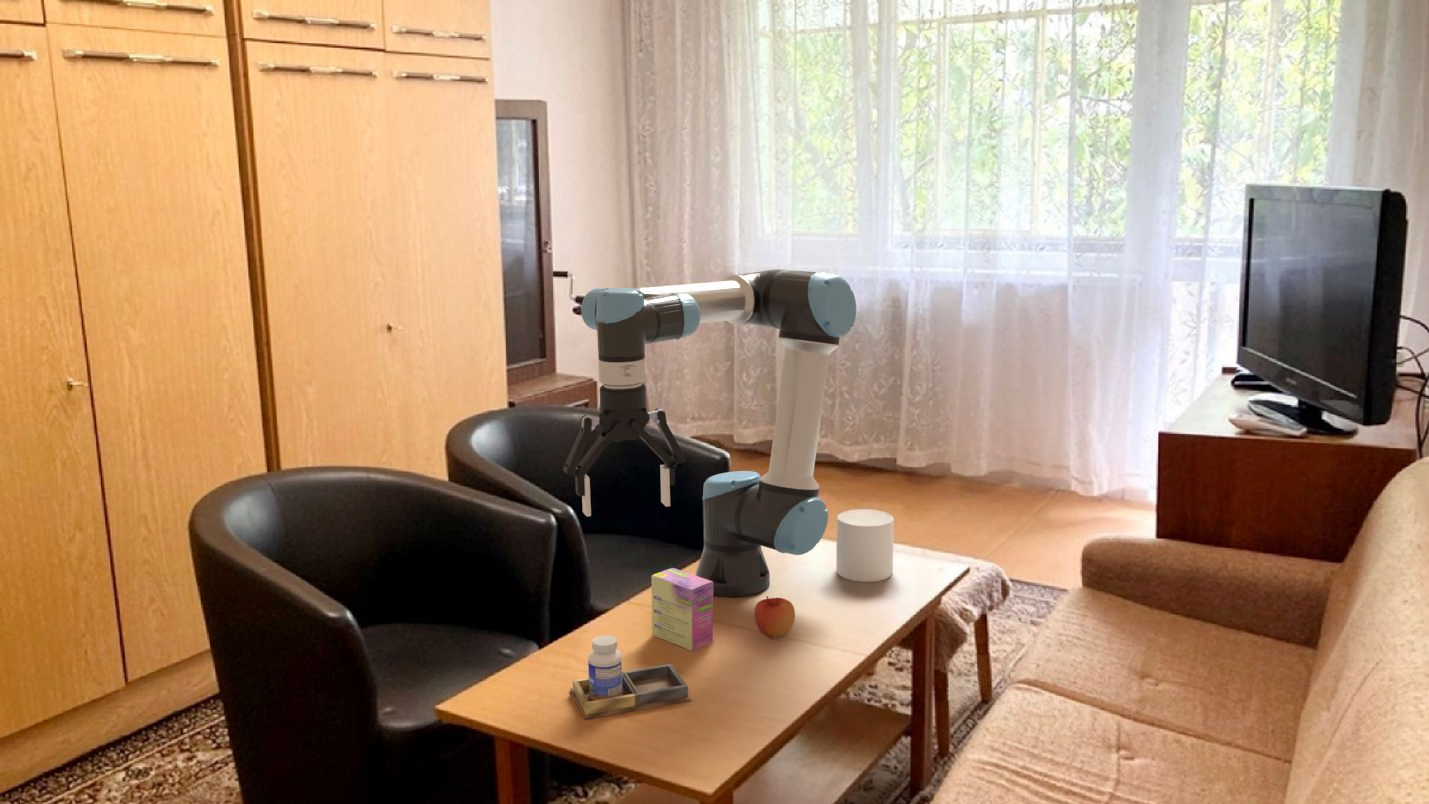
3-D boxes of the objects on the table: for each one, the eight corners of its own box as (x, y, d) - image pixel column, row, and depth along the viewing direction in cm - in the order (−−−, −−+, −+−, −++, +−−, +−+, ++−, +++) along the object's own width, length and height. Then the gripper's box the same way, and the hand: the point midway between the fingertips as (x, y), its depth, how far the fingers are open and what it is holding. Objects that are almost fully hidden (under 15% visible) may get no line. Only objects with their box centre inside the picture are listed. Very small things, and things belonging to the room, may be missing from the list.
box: (714, 642, 206) (713, 580, 204) (692, 652, 202) (691, 589, 200) (673, 626, 213) (672, 566, 211) (651, 636, 209) (650, 575, 207)
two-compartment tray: (584, 719, 179) (584, 706, 178) (570, 691, 188) (569, 678, 188) (691, 700, 184) (691, 688, 184) (671, 673, 194) (671, 661, 193)
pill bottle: (590, 689, 188) (588, 633, 186) (623, 687, 188) (621, 632, 186) (588, 704, 183) (586, 647, 180) (622, 703, 183) (620, 646, 181)
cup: (896, 582, 233) (897, 526, 231) (839, 582, 234) (839, 526, 231) (888, 561, 245) (889, 508, 242) (834, 562, 245) (834, 508, 243)
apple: (802, 638, 207) (802, 597, 205) (769, 648, 203) (768, 606, 202) (780, 624, 213) (780, 584, 211) (747, 633, 210) (746, 592, 208)
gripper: (551, 395, 178) (557, 525, 183) (702, 382, 186) (704, 506, 191) (541, 386, 185) (548, 511, 189) (687, 373, 193) (690, 494, 198)
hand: (626, 509), depth 190 cm, fingers open, 13 cm apart
